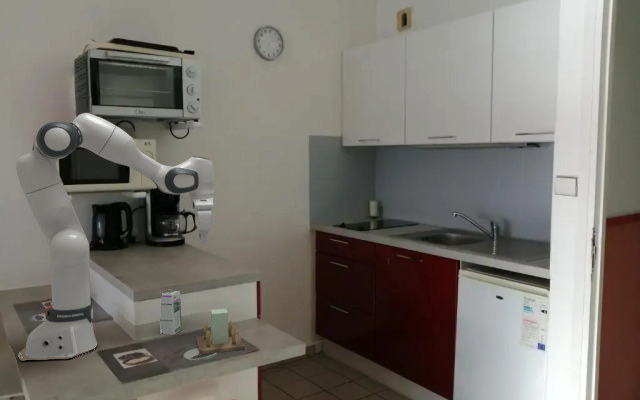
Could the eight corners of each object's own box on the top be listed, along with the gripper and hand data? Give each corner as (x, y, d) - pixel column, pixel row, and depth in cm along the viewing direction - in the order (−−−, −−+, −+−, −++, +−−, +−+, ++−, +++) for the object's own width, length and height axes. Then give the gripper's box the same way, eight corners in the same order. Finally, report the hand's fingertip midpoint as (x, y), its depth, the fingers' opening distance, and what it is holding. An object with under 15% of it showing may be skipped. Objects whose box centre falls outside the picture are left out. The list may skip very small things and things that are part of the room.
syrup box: (174, 335, 183) (173, 293, 182) (158, 334, 184) (157, 293, 183) (182, 330, 188) (180, 289, 187) (166, 329, 189) (165, 289, 188)
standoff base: (199, 354, 165) (199, 335, 164) (196, 339, 178) (195, 322, 178) (244, 349, 169) (244, 330, 168) (238, 335, 182) (237, 318, 182)
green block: (212, 344, 170) (212, 314, 169) (211, 339, 175) (210, 309, 174) (228, 343, 172) (227, 312, 171) (226, 338, 176) (225, 308, 176)
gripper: (190, 200, 197) (191, 237, 198) (195, 205, 178) (196, 246, 179) (208, 200, 199) (209, 236, 200) (214, 204, 179) (215, 245, 181)
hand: (203, 241), depth 189 cm, fingers open, 8 cm apart
